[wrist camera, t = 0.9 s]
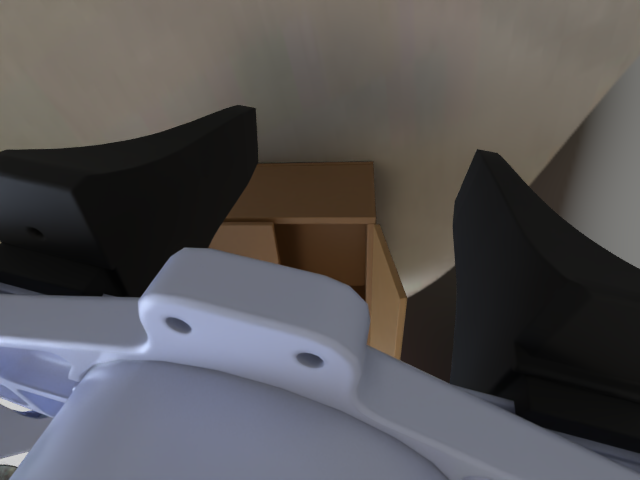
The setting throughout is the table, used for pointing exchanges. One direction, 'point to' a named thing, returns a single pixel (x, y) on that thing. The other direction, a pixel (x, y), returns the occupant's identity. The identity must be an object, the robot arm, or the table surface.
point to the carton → (308, 221)
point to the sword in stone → (6, 472)
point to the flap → (386, 300)
